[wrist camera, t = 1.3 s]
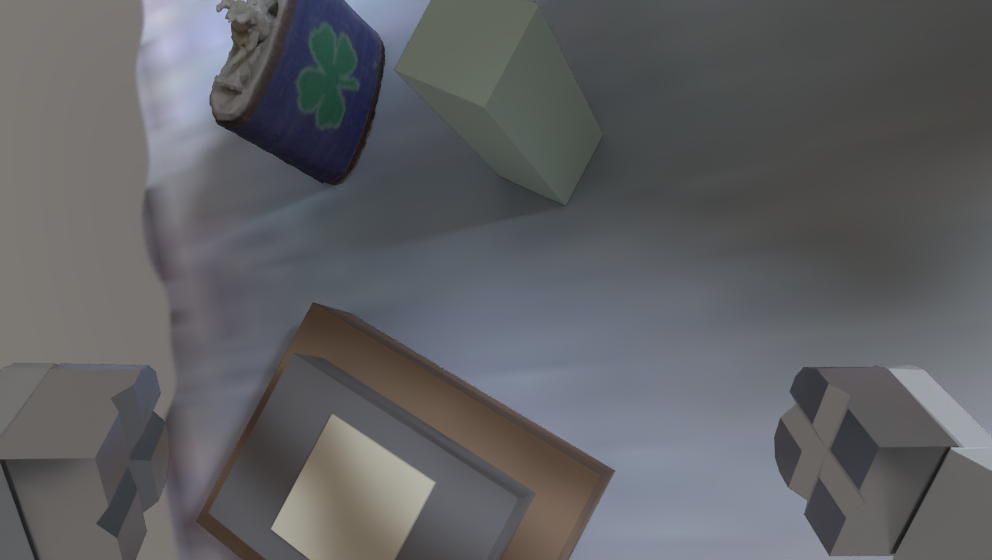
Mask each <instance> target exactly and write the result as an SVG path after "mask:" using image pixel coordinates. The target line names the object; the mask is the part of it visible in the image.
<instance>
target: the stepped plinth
mask: <svg viewBox="0 0 992 560" xmlns="http://www.w3.org/2000/svg"><path fill="white" fill-rule="evenodd" d="M614 472H615V470H613V469H611V468H610V467H608V466H606V465H604V464H603V463H601V462H599V461H598V460H596V459H594V458H593V457H591V456H589V455H588V454H586V453H584V452H583V451H581V450H579V449H578V448H576V447H574V446H572V445H571V444H569V443H567V442H566V441H564V440H562V439H561V438H559V437H557V436H556V435H554V434H552V433H551V432H549V431H547V430H546V429H544V428H542V427H540V426H539V425H537V424H535V423H534V422H532V421H530V420H529V419H527V418H525V417H524V416H522V415H520V414H519V413H517V412H515V411H514V410H512V409H510V408H508V407H507V406H505V405H503V404H502V403H500V402H498V401H497V400H495V399H493V398H492V397H490V396H488V395H487V394H485V393H483V392H482V391H480V390H478V389H476V388H475V387H473V386H471V385H470V384H468V383H466V382H465V381H463V380H461V379H460V378H458V377H456V376H455V375H453V374H451V373H450V372H448V371H446V370H444V369H443V368H441V367H439V366H438V365H436V364H434V363H433V362H431V361H429V360H428V359H426V358H424V357H423V356H421V355H419V354H418V353H416V352H414V351H412V350H411V349H409V348H407V347H406V346H404V345H402V344H401V343H399V342H397V341H396V340H394V339H392V338H391V337H389V336H387V335H386V334H384V333H382V332H380V331H379V330H377V329H375V328H374V327H372V326H370V325H369V324H367V323H365V322H364V321H362V320H360V319H359V318H357V317H355V316H354V315H352V314H350V313H348V312H344V311H341V310H337V309H334V308H330V307H327V306H323V305H320V304H316V303H312V305H311V307H310V309H309V311H308V312H307V314H306V316H305V318H304V320H303V322H302V324H301V326H300V327H299V329H298V331H297V333H296V335H295V337H294V339H293V341H292V342H291V344H290V346H289V348H288V350H287V352H286V354H285V356H284V357H283V359H282V361H281V363H280V365H279V367H278V369H277V371H276V372H275V374H274V376H273V378H272V380H271V382H270V384H269V386H268V387H267V389H266V391H265V393H264V395H263V397H262V399H261V401H260V402H259V404H258V406H257V408H256V410H255V412H254V414H253V416H252V418H251V419H250V421H249V423H248V425H247V427H246V429H245V431H244V433H243V434H242V436H241V438H240V440H239V442H238V444H237V446H236V448H235V449H234V451H233V453H232V455H231V457H230V459H229V461H228V463H227V464H226V466H225V468H224V470H223V472H222V474H221V476H220V478H219V479H218V481H217V483H216V485H215V487H214V489H213V491H212V493H211V494H210V496H209V498H208V500H207V502H206V504H205V506H204V508H203V509H202V511H201V513H200V515H199V517H198V519H197V521H196V522H198V523H199V524H200V525H201V526H202V527H204V528H205V529H206V530H207V531H209V532H210V533H211V534H212V535H213V536H215V537H216V538H217V539H218V540H220V541H221V542H222V543H223V544H224V545H226V546H227V547H228V548H229V549H230V550H232V551H233V552H234V553H235V554H237V555H238V556H239V557H240V558H241V559H243V560H569V558H570V556H571V554H572V552H573V550H574V548H575V546H576V544H577V542H578V540H579V539H580V537H581V535H582V533H583V531H584V529H585V527H586V525H587V523H588V521H589V519H590V517H591V516H592V514H593V512H594V510H595V508H596V506H597V504H598V502H599V500H600V498H601V496H602V495H603V493H604V491H605V489H606V487H607V485H608V483H609V481H610V479H611V477H612V475H613V473H614Z"/></svg>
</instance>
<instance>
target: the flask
mask: <svg viewBox="0 0 992 560" xmlns="http://www.w3.org/2000/svg"><path fill="white" fill-rule="evenodd" d="M223 8H227V9H229V10H228V12H227V14H226V17H225V19H229V21H228V22H229V23H230V22H232V23H231V31H232V36H231V38H232V40H233V43H234V44H233V47H232V50H231V51H230V52H229V57H228V60H227V62H226V64H225V65H224V67H223V68H222V70H221V73H220V75H219V76H217V75H216V77H215V81H214V83H213V86H212V92H211V95H210V105H211V107H212V113H213V116H214V117H215V120H216V122H217V124H218V125H220V126H222V127H224V128H225V129H227V130H230V131H232V132H234V133H236V134H237V135H238V136H240V137H242V138H244V139H246V140H247V141H249V142H252V143H253V144H255V145H257V146H258V147H260V148H262V149H263V150H265V151H267V152H269V153H271V154H273V155H275V156H276V157H278V158H279V159H281V160H283V161H284V162H285V163H287V164H290V165H292V166H294V167H296V168H297V169H299V170H300V171H302V172H303V173H305V174H307V175H309V176H311V177H313V178H314V179H316V180H318V181H320V182H321V183H330V184H333V185H337V184H340V183H343V182H344V181H345V180H346V179H347V178H348V177H349V176H350V175H351V172H352V170H353V169H354V168H355V166H356V164H357V163H358V159H359V157H360V155H361V152H362V150H363V148H364V147H365V143H366V140H367V137H368V136H369V132H370V130H371V128H372V126H371V125H372V121H373V119H374V115H375V111H374V110H375V107H376V104H377V102H378V94H379V91H380V87H381V80H382V77H383V75H382V74H383V68H384V65H385V54H384V52H385V48H384V46H383V42H382V41H381V39H380V37H379V35H378V34H377V32H376V31H375V30H373V29H372V28H371V27H370V26H369V25H368V24H367V23H366V22H365V21H364V20H363V19H362V18H361V17H360V16H359V15H358V14H357V13H356V12H355V11H354V10H353V9H352V8H351V7H350V6H349V5H348V4H347V3H346V2H345V0H247V3H246V2H244V1H241V0H237V1H234V0H222V2H221V3H220V4H219V5H217V12H220V11H221V10H222V9H223Z"/></svg>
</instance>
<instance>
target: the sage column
mask: <svg viewBox="0 0 992 560" xmlns="http://www.w3.org/2000/svg"><path fill="white" fill-rule="evenodd" d="M394 70H395V71H396V72H397V73H398V74H399V75H400V76H401V78H402V79H403V80H404V81H405V82H406V83H407V84H408V85H409V86H410V87H411V88H412V89H413V90H414V91H415V92H416V93H417V94H418V95H419V96H420V97H421V98H422V99H423V100H424V101H425V102H426V103H427V104H428V105H429V106H430V107H431V108H432V109H433V110H434V111H435V112H436V113H437V114H438V115H439V116H440V117H441V118H442V119H443V120H444V121H445V122H446V123H447V124H448V125H449V126H450V127H451V128H452V129H453V130H454V131H455V132H456V133H457V134H458V135H459V136H460V137H461V138H462V139H463V140H464V141H465V142H466V143H467V144H468V145H469V146H470V147H471V148H472V149H473V150H474V151H475V152H476V153H477V154H478V155H479V156H480V157H481V158H482V159H483V160H484V161H485V162H486V163H487V164H488V165H489V166H490V167H491V168H492V169H493V170H494V171H495V172H496V173H497V174H498V175H499V176H500V177H503V178H505V179H507V180H509V181H511V182H514V183H516V184H518V185H520V186H522V187H525V188H527V189H529V190H531V191H533V192H536V193H538V194H540V195H542V196H544V197H547V198H549V199H551V200H553V201H555V202H558V203H560V204H562V205H564V206H566V205H567V203H568V201H569V199H570V197H571V195H572V193H573V191H574V190H575V188H576V186H577V184H578V182H579V180H580V178H581V176H582V174H583V172H584V171H585V169H586V167H587V165H588V163H589V161H590V159H591V157H592V155H593V153H594V152H595V150H596V148H597V146H598V144H599V142H600V140H601V138H602V136H603V133H602V131H601V129H600V127H599V125H598V123H597V121H596V119H595V117H594V115H593V113H592V111H591V109H590V107H589V105H588V103H587V101H586V99H585V97H584V95H583V93H582V91H581V89H580V87H579V85H578V83H577V81H576V79H575V77H574V75H573V73H572V70H571V68H570V66H569V64H568V62H567V60H566V58H565V56H564V54H563V52H562V50H561V48H560V46H559V44H558V42H557V40H556V38H555V36H554V34H553V32H552V30H551V28H550V26H549V24H548V22H547V20H546V18H545V16H544V14H543V12H542V10H541V8H540V6H539V4H536V3H533V2H530V1H527V0H431V1H430V3H429V5H428V7H427V9H426V10H425V12H424V14H423V16H422V18H421V20H420V22H419V24H418V25H417V27H416V29H415V31H414V33H413V35H412V37H411V39H410V41H409V42H408V44H407V46H406V48H405V50H404V52H403V54H402V56H401V57H400V59H399V61H398V63H397V65H396V67H395V69H394Z"/></svg>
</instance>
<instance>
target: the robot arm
mask: <svg viewBox="0 0 992 560" xmlns="http://www.w3.org/2000/svg"><path fill="white" fill-rule="evenodd" d="M790 393H791V395H792V397H793V399H794V402H795V404H796V405H795V406H793V407H792V408H791V409H790V410H789V411H788V412H786V413H785V414H784V415H783V416H782V417H781V418H780V421H779V424H778V427H777V430H776V434H775V437H774V441H775V459H776V462H777V465H778V468H779V472H780V474H781V475H782V477H783V479H784V481H785V483H786V484H787V486H788V488H790V489H791V490H793V491H794V492H796V493H797V494H799V495H800V496H802V497H803V498H804V499H806V500H807V504H806V508H805V513H804V515H805V516H806V518H807V520H808V521H809V523H810V525H811V526H812V528H813V530H814V531H815V533H816V535H817V536H818V538H819V539H820V541H821V543H822V544H823V546H824V548H825V549H826V551H827V553H828V554H829V556H894V557H893V560H992V437H991V436H990V435H989V434H988V433H987V432H986V431H985V430H984V429H983V428H982V427H981V426H980V425H979V424H978V423H977V422H976V421H975V420H974V419H973V418H972V417H971V416H970V415H969V414H968V413H967V412H966V411H965V410H964V409H963V408H962V407H961V406H960V405H959V404H958V403H957V402H956V401H955V400H954V399H953V398H952V397H951V396H950V395H949V394H948V393H947V392H946V391H945V390H944V389H943V388H942V387H941V386H940V385H939V384H938V383H937V382H936V381H935V380H934V379H933V378H932V377H931V376H930V375H929V374H928V373H927V372H926V371H925V370H923V369H920V368H918V367H916V366H914V365H880V366H874V367H803V368H802V370H801V371H800V372H799V373H798V374H797V375H796V376H795V379H794V381H793V384H792V387H791V389H790ZM160 394H161V393H160V388H159V385H158V380H157V376H156V372H155V371H154V370H153V369H152V368H151V367H150V366H147V365H104V364H102V365H100V364H59V365H58V364H34V363H33V364H32V363H30V364H29V363H14V364H12V365H9V366H7V367H4V368H3V369H2V370H1V371H0V560H136V557H137V555H138V552H139V550H140V547H141V545H142V542H143V540H144V537H145V535H146V532H147V530H146V525H145V520H144V516H143V512H145V511H146V510H147V509H148V508H150V507H151V506H152V505H154V504H155V503H156V502H158V501H159V498H160V496H161V493H162V490H163V488H164V485H165V482H166V477H167V471H168V464H169V458H170V451H169V435H168V429H167V423H166V422H165V421H164V420H163V419H162V418H161V417H159V416H158V415H157V414H156V413H155V412H154V411H153V409H154V407H155V405H156V403H157V401H158V398H159V396H160Z"/></svg>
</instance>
